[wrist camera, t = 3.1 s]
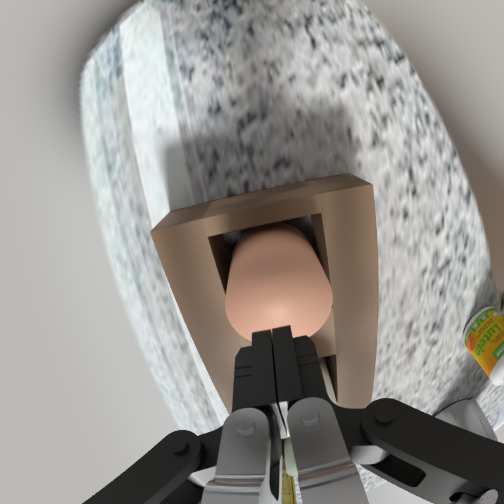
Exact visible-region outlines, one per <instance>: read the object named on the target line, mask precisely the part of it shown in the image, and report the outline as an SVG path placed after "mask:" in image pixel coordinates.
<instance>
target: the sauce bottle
mask: <svg viewBox="0 0 504 504" xmlns="http://www.w3.org/2000/svg"><path fill="white" fill-rule="evenodd" d="M281 500H282V504H297V502H296V493H295V484H294V476H290V475H288V474H287V473H286V465H285V462H284V463H282V497H281Z"/></svg>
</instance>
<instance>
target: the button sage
mask: <svg viewBox="0 0 504 504" xmlns="http://www.w3.org/2000/svg"><path fill="white" fill-rule="evenodd" d="M284 452H285V465H286V473H287V474H288V475H290V476H294V477H298V472H297V467H296V462H295V458H294V453H293V448H292V443H291V438H290V437H288V438H284Z"/></svg>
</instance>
